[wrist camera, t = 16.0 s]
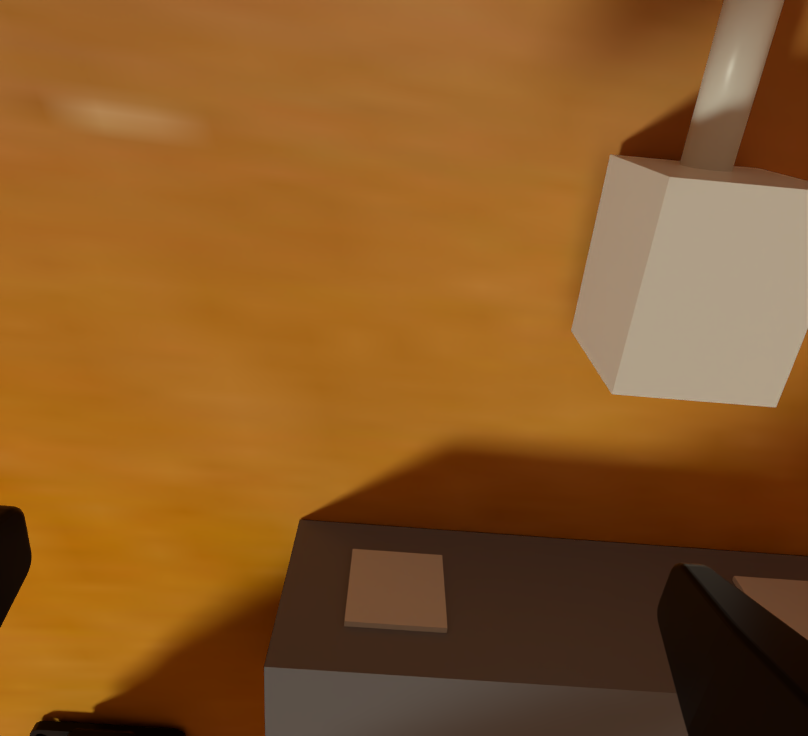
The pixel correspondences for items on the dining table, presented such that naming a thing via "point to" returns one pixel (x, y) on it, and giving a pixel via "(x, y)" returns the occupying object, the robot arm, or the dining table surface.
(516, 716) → the grey block
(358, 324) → the dining table surface
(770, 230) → the plug
